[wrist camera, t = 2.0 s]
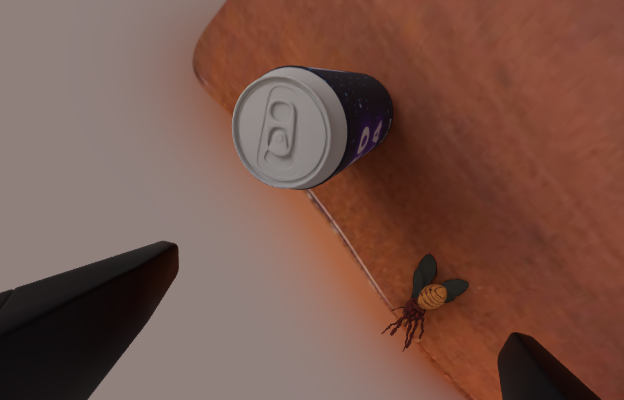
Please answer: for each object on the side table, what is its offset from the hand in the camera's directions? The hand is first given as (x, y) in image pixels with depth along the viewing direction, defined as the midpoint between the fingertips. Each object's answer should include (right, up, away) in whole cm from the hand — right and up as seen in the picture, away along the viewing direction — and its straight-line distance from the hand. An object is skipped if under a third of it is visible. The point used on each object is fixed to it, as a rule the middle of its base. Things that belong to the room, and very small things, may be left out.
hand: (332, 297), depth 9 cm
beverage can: (+3, +9, +16) cm, 19 cm away
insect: (+6, -7, +14) cm, 17 cm away
